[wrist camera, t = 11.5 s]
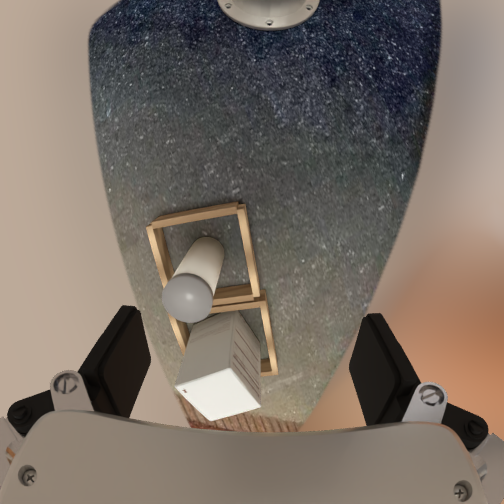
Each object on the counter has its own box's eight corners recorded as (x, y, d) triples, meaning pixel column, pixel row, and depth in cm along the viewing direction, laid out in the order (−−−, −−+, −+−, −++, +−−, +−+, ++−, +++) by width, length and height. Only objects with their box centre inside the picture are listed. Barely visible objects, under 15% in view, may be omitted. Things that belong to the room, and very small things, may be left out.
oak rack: (149, 218, 35) (140, 224, 32) (249, 199, 34) (249, 204, 31) (197, 368, 43) (193, 381, 40) (277, 361, 42) (278, 374, 39)
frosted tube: (188, 236, 36) (158, 277, 24) (224, 235, 35) (210, 278, 24) (191, 270, 37) (165, 321, 26) (226, 270, 37) (213, 323, 26)
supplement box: (218, 358, 42) (208, 423, 30) (192, 323, 40) (171, 386, 28) (262, 342, 41) (263, 408, 29) (237, 304, 39) (229, 368, 27)
